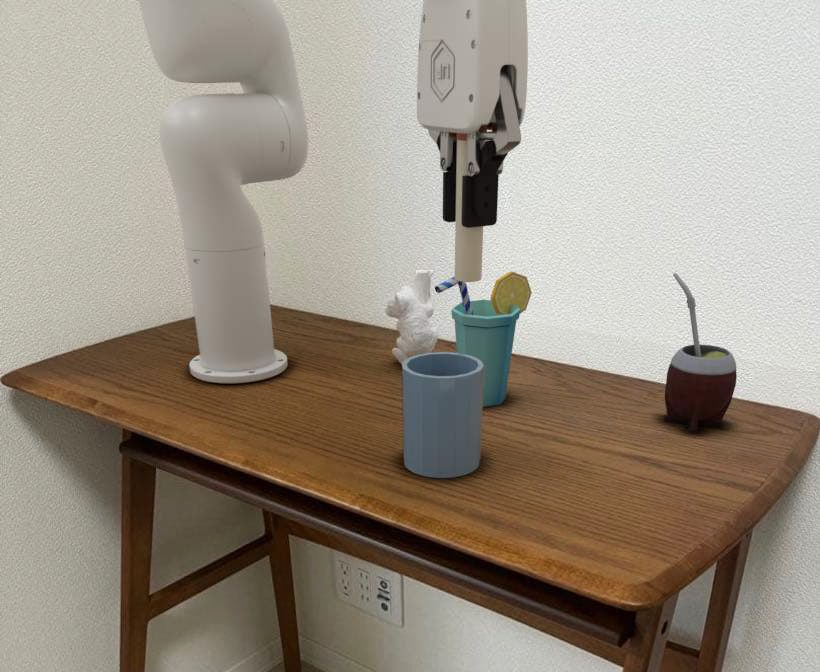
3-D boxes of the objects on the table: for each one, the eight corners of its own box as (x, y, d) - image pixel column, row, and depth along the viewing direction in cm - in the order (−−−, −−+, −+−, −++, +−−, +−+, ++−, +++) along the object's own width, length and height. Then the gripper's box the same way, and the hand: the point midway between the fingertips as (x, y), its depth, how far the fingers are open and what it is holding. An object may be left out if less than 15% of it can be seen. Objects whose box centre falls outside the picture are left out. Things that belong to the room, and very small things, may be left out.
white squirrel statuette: (415, 352, 113) (414, 262, 107) (455, 361, 109) (457, 268, 103) (376, 369, 107) (373, 274, 101) (417, 378, 103) (417, 281, 97)
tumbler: (390, 455, 83) (388, 359, 78) (455, 441, 86) (457, 347, 81) (426, 484, 77) (426, 382, 72) (494, 468, 80) (498, 369, 75)
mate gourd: (727, 438, 86) (756, 293, 78) (650, 430, 88) (671, 288, 80) (725, 413, 92) (752, 276, 85) (653, 406, 94) (673, 272, 87)
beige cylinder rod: (448, 277, 73) (451, 101, 66) (472, 274, 74) (477, 100, 67) (463, 283, 72) (467, 102, 64) (487, 280, 73) (494, 101, 65)
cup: (461, 425, 90) (464, 286, 82) (412, 407, 95) (410, 274, 87) (540, 393, 98) (550, 264, 91) (491, 378, 103) (497, 255, 95)
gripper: (383, -29, 66) (388, 214, 75) (491, -51, 54) (482, 242, 63) (463, -26, 69) (458, 207, 78) (583, -46, 57) (561, 233, 66)
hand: (469, 221), depth 71 cm, fingers closed on beige cylinder rod, 2 cm apart
